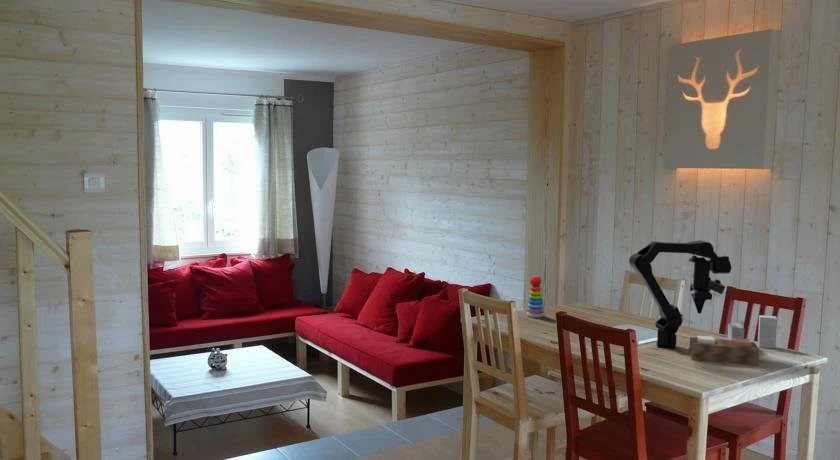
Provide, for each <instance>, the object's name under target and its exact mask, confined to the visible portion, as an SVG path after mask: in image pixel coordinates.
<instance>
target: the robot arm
mask: <svg viewBox="0 0 840 460" xmlns="http://www.w3.org/2000/svg"><path fill="white" fill-rule="evenodd" d="M660 253H672V254H674V253H675V254H688V255H689V254H690V255H692V256H691V257H690V258H689V259H688V261H689V262H692V263H693V275H692V279H693V280H692V283H691V284H690V285H689V292H693V293H691V297H692V300H693V303H694V306H695V309H696V312H697V314H702V311H703V309H704V306H705V302H706V301H707V300H709V301H711V300H713V294H712V293H711V291H713V292H715V293H718V294H719V295H723V293H724V291H725V288H726V285H724V284H723V283H721V282H722V281H721V280H720V279H717V278H716V279H714V280H712V278H711V277H710V276H711V275H710V274H711V273H712V274H713V275H715V274H716V275H717V274H718V275H719V274H720V275H721V274H724V275H726V274H727V275H728V274H730V273H731V271H732V264H731V261H730V257H729V256H728V255H722V256H720V255H719V256H718V255H717V253H716V252H715V250H714V246H713V244H712V243H711V242H708V241H705V240H694V241H688V242H673V241H672V242H671V241H670V242H669V241H667V242H666V241H654V240H653V241H651V242H649V243H648V245H646V246H645V247H643V248H641V249H639V251H637V252H636V253H633V254H632V255H631V256H630V257H629V259H628V263H629V265H630V267H631V268H632V270H633V271H634V272H635V273H637V274H638V276H640V278H641V280H642V281H643V283H644V285H645V286H646V289H648V291H649V293H650V295H651V297H652V298H653V300H654V302H655V304H656V306H657V308H658V312H659V317H660V318H659V319H658V320H657V321H655V323H654V324H655V328H656V329H657V332H656V333H657V334H656V336H657V337H656V347H657V348H665V349H676V346H677V338H678V337H677V333H678V331H679V328H680V327H681V326H682V324H683V322H684V320H683V318H682V317H684V316H683V314H681V312H680V309H679V308H678V306H676V305H674V304H670V301H669V300H668V299H667V297H666V295H665V293H664V292H663V290H662V288H661V287H660V285H659V282H658V281H657V279H656V277H655V275H654V274H653V267H652V265H651V263H652V262H653V261H654V260H655V259H656V258H657V256H658V255H659V254H660ZM697 256H699V257H697ZM710 272H711V273H710Z"/></svg>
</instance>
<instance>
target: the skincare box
mask: <svg viewBox="0 0 840 460" xmlns="http://www.w3.org/2000/svg"><path fill="white" fill-rule="evenodd" d="M777 329H778V318H777V316H776V315H775V316H774V315H762V314H761V315H760V314H759V315H758V330H757V331H758V333H757V347H758V348H763V349H764V348H765V349H776V346H777Z"/></svg>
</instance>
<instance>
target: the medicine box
mask: <svg viewBox="0 0 840 460" xmlns="http://www.w3.org/2000/svg"><path fill="white" fill-rule="evenodd" d="M726 338H727V339H726V340H732V338H738V339H745V327H744V326H742V324H740V323H734V322H733V323H730V322H729V323H728V325H727V337H726Z"/></svg>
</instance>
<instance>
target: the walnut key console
mask: <svg viewBox="0 0 840 460" xmlns="http://www.w3.org/2000/svg"><path fill="white" fill-rule="evenodd" d="M714 339H715V344H705V343H698V342H697V337H693V336H690V337H689V351H688V354H689V356H690V359H691V361H698V362H699V361H701V362H709V363H710V362H713V363H723V364H725V363H726V364H737V365H747V366H759V361H760V360H759V357H760V347H759V346H758V344H756V342H754V341H750V342H751V347H743V346H733V344H732V340H727V339H719V338H714Z"/></svg>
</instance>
